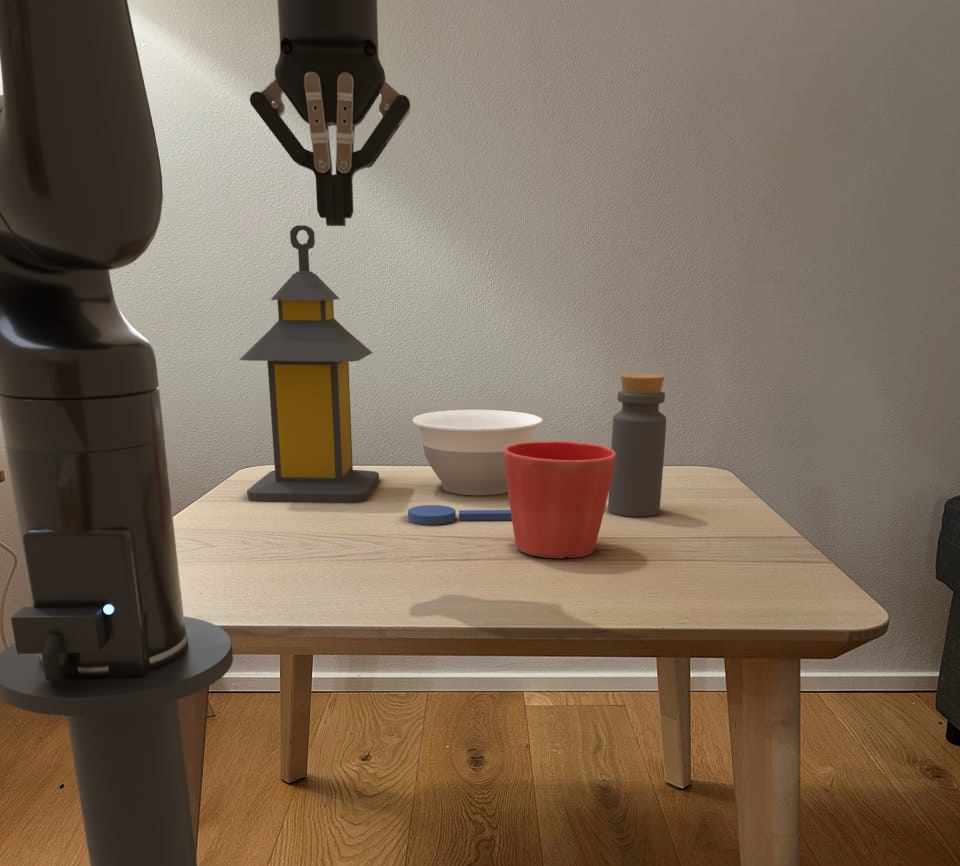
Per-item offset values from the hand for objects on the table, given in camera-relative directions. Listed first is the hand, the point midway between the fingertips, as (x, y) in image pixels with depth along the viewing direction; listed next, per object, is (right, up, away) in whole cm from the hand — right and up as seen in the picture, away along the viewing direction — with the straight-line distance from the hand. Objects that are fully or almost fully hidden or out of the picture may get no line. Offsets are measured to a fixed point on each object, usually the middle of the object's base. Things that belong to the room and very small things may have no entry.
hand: (336, 225), depth 79 cm
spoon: (+13, -21, +27) cm, 36 cm away
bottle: (+29, -19, +31) cm, 47 cm away
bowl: (+11, -15, +42) cm, 46 cm away
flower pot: (+19, -25, +16) cm, 35 cm away
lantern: (-9, -15, +41) cm, 44 cm away
